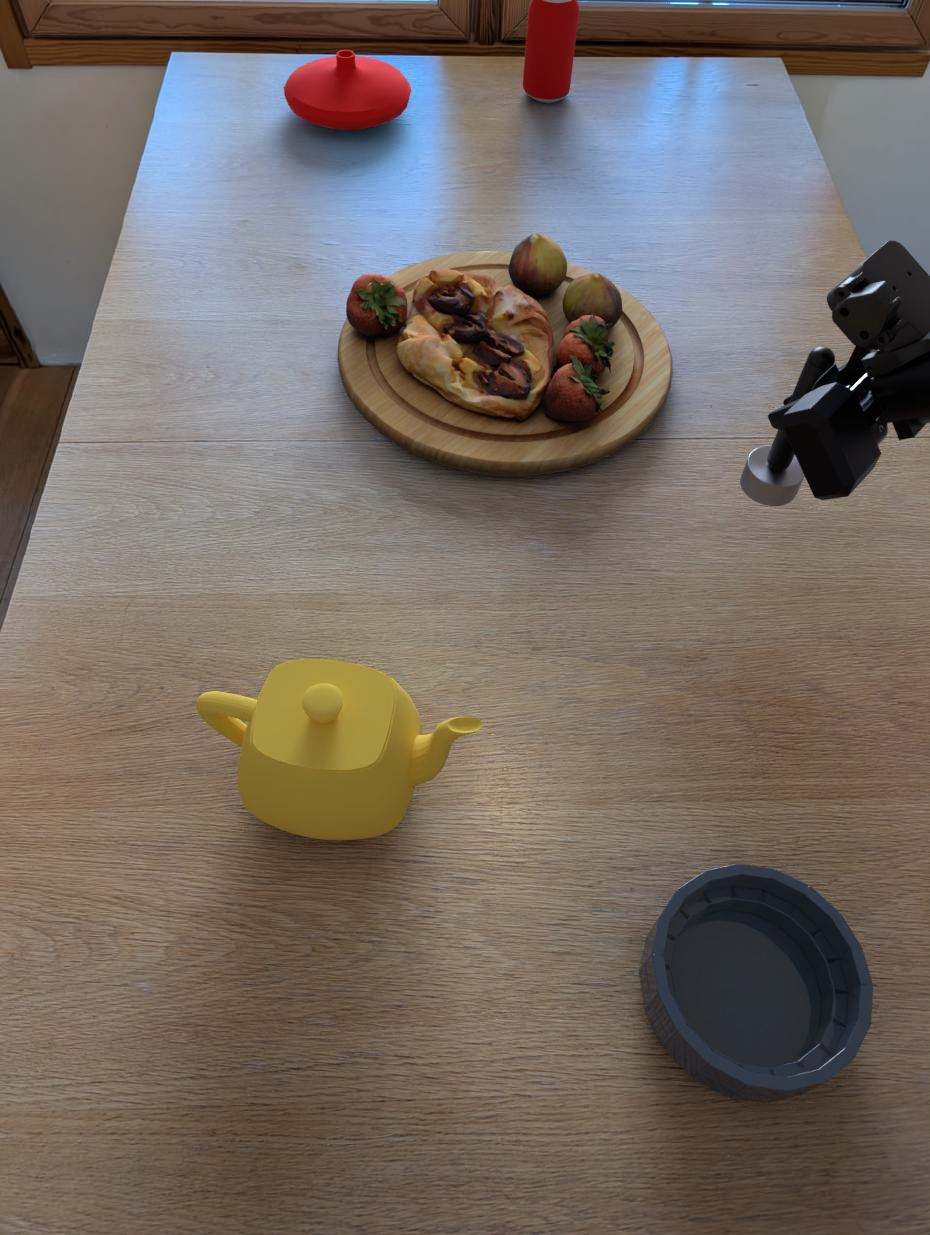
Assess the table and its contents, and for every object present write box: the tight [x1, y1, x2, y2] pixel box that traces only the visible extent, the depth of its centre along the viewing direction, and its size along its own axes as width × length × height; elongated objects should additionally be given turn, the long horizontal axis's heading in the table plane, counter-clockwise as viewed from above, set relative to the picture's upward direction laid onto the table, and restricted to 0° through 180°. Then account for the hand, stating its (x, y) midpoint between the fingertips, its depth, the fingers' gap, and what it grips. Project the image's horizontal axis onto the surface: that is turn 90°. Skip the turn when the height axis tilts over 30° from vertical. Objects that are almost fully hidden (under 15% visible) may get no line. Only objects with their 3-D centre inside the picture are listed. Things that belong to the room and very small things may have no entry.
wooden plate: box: [337, 233, 674, 477], centre depth 88 cm, size 32×32×8 cm
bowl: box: [638, 863, 874, 1104], centre depth 55 cm, size 12×13×5 cm
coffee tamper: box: [739, 346, 836, 507], centre depth 68 cm, size 4×4×13 cm
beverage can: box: [522, 0, 580, 104], centre depth 118 cm, size 6×6×12 cm
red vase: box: [283, 49, 412, 131], centre depth 115 cm, size 16×16×7 cm
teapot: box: [195, 658, 483, 841], centre depth 60 cm, size 18×11×11 cm, turn 82°
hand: (778, 413), depth 68 cm, fingers closed on coffee tamper, 2 cm apart
